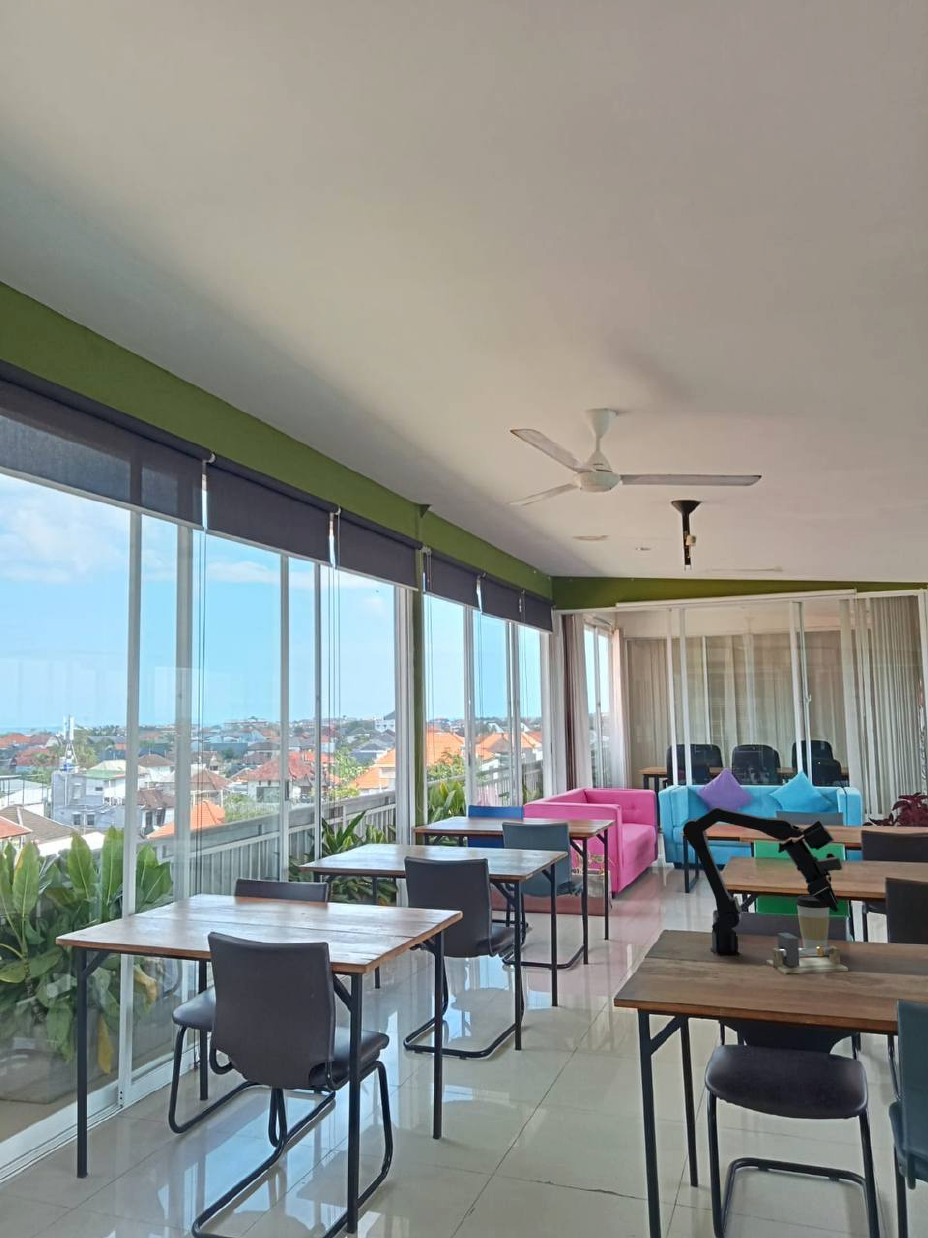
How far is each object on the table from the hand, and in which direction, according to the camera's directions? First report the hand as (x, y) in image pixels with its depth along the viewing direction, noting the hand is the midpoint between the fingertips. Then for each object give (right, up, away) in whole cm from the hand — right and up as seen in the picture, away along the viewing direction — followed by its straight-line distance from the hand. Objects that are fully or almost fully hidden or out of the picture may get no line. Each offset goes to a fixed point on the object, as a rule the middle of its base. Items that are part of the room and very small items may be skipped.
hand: (837, 907), depth 258 cm
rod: (-11, -12, -5) cm, 17 cm away
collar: (-16, -13, -6) cm, 22 cm away
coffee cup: (-2, -16, +11) cm, 20 cm away
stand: (-11, -15, -6) cm, 19 cm away
